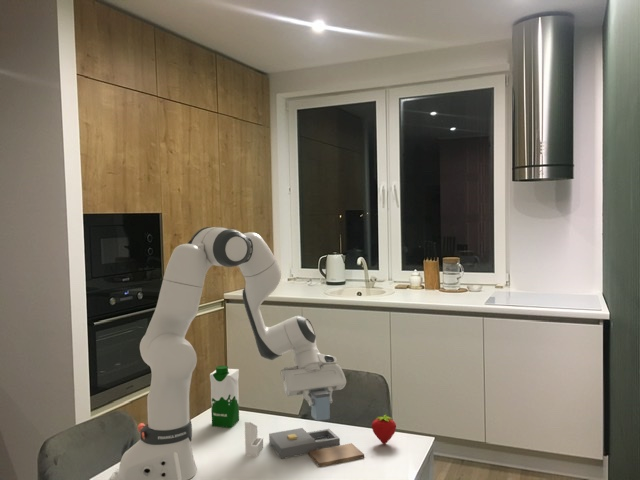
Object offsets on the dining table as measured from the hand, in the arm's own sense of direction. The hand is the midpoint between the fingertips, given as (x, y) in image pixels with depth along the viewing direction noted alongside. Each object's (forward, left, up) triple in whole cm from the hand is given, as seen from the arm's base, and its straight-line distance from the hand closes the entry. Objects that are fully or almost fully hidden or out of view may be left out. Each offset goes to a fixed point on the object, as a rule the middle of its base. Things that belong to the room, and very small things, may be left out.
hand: (321, 404), depth 166 cm
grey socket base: (-5, +1, -12) cm, 13 cm away
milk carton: (-24, +29, -12) cm, 39 cm away
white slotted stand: (-21, +3, -12) cm, 24 cm away
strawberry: (+17, -8, -12) cm, 23 cm away
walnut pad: (0, -10, -12) cm, 16 cm away
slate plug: (0, +1, -4) cm, 4 cm away
